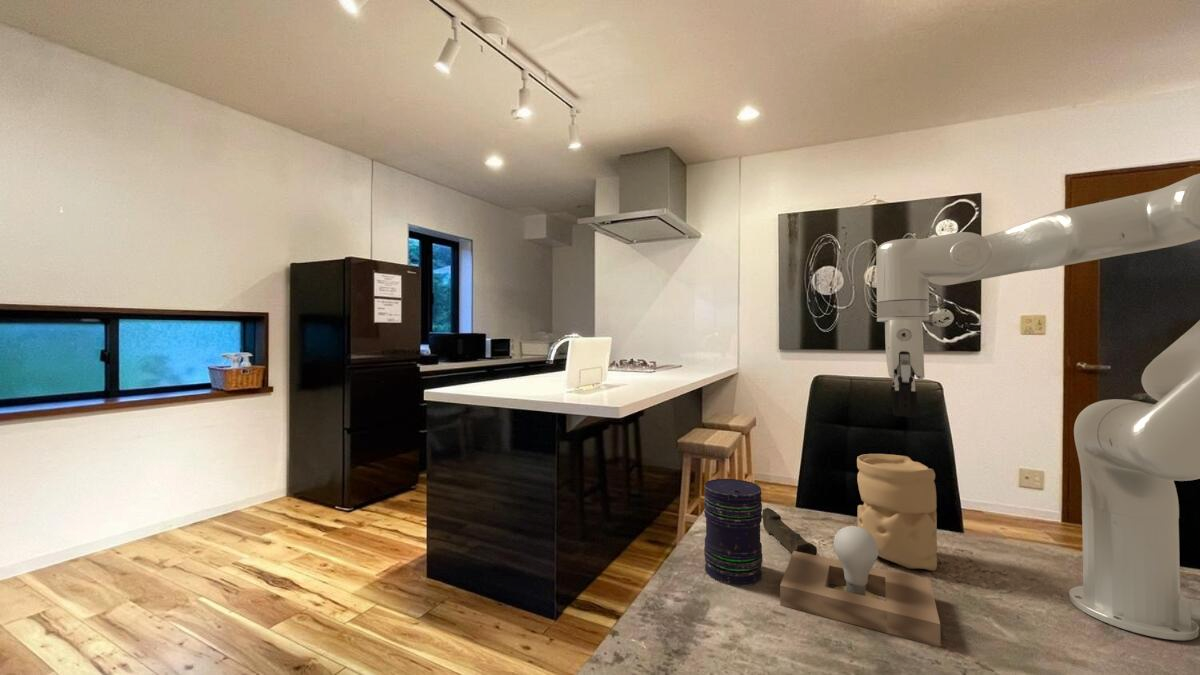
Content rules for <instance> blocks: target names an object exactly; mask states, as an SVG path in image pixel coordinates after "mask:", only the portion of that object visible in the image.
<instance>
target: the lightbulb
mask: <svg viewBox="0 0 1200 675" xmlns="http://www.w3.org/2000/svg"><path fill="white" fill-rule="evenodd" d="M833 548H834V552H835V553H836V556H837V558H838V560H840V562H841V564H842V566H843V570H844V577H845V580H846V586H847V592H850V593H854V594H858V595H863V596H865V592H866V584H867V582H868V574H869V571H870V569H871V567H874V565H875V563H876V562H877V559H878V557H879V556H878V546H877V543H876V541H875V539H874V538H873V536H872V535H871V534H870V533H869V532H867V531H866V530H864V529H862V528H860V527H858V525H857V526H855V525H848V526H847V525H846V526H845V527H842V528H841V529H839V530H838V531H837V532H836V533H835V536H834V538H833Z"/></svg>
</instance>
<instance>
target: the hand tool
mask: <svg viewBox="0 0 1200 675" xmlns="http://www.w3.org/2000/svg"><path fill="white" fill-rule="evenodd" d="M761 513H762V526H763V528H764V530H765V531H766V533H767V534H768V535H769V536H771V535H774V536H773V537H775V539H776V540H777V541H778V542H780V544H782V545H783V546H784V547H785V549H786V550H788V551H789V553H791V554H792V553H793V551H797V552H802V553H807V554H812V555H816V556H817V554H818V548H817V547H816V545H814V544H813V543H811V542H808V541H807V540H805V539H804V538H803V537H802V536H801V534H800V533H798V532H795V531H794V530H793V529H792V528H791V527H789V526H788V525H787V524H786V523H785V522H784V521H783V520H782V516H781V515H780V514H779V513H777V511H775V510H773V509H772V508H769V507H766V508H762V512H761Z"/></svg>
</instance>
